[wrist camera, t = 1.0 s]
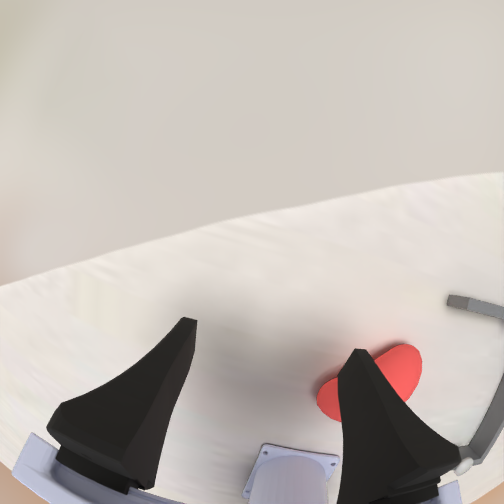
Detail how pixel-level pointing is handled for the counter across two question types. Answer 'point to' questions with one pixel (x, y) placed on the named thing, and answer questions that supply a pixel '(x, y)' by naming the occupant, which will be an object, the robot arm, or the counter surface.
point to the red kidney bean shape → (394, 369)
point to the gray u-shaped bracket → (500, 410)
